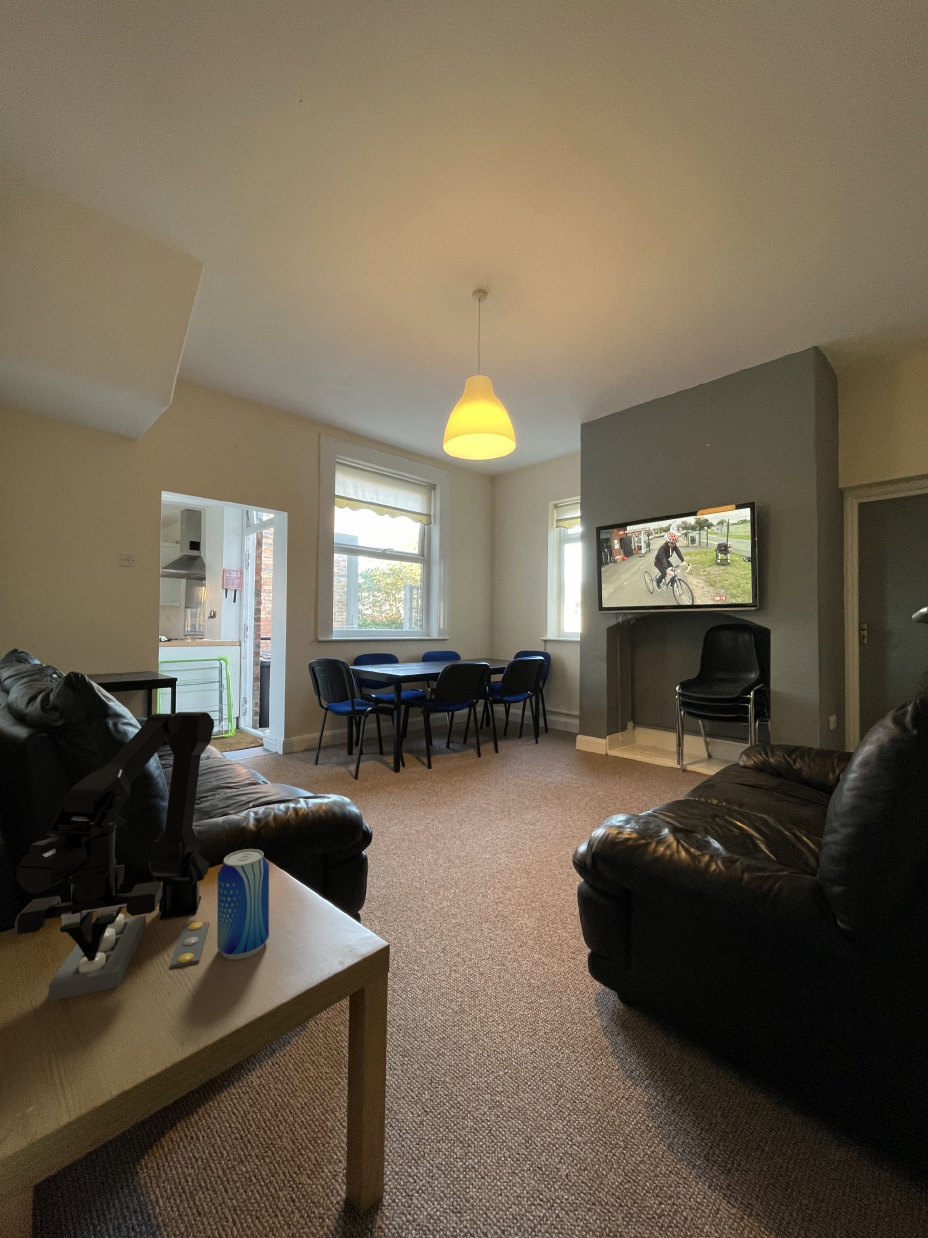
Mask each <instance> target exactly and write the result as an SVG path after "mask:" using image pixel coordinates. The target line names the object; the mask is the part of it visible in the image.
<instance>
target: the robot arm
mask: <svg viewBox="0 0 928 1238" xmlns="http://www.w3.org/2000/svg"><path fill="white" fill-rule="evenodd" d="M214 728H215V721H214V718H212V716H211V715H210V713H209V712H203V711H178V712H175V713H156V712H155V713H153V714H150V715H149V716H147V718H146V719H145V722H144V724H143V725H142V726H141V727H140V728H139V730H138V731H137V732H136V733H135V734H134V735H133V736H132V737H131V738H130V740H129V741H127V743H125V745H124V746H123V747H122V748H121V749H120V750H119V751H118V752H117V754H115V755H114V756H113V758H112V759H111V760H110V761H109V762H108V763H107V764H106V765H105V766H103V768H100V769H99V770H97V771H94V772H92V773H90V774H88V775H86V776H85V777H84V778H83V779H81V780H80V781H78V782H77V783H76V784H75V785H73V786H72V787H71V788H70V789H69V790H68V792H67V793H66V794H65V797H64V799H63V802H62V804H61V806H60V808H59V810H58V811H57V813H56V815H55V817H54V819H53V820H52V822H51V824H50V826H49V828H48V829H47V831H46V835H47V836H51V837H49V838H46V839H44V840H37V841H36V842H33V843H31V844H30V846H29V853H27V854H26V855H24V857H22V858H21V860H20V862H19V864H18V867H16V879H17V881H18V884H19V885H20V887H21V888H22V889H23V890H24V891H26V892H27V893H30V894H40V893H42V892H44V891H45V890H47V889H49V888H51V887H53V886H55V885H57V884H59V883H61V882H63V881H64V880H66V879H68V886H70V887H71V888H70V889H71V890H70V896H71V897H70V901H68V902H61V901H62V898H61V897H60V896H59V895H54V896H47V897H41V898H39V897H38V898H34V899H32V901H30V903H28V905H26V906H25V907H24V908H23V909H22V911H21V912H20V913H19V914H17V916H16V918H15V920H14V934H15V935H17V936H18V935H25V934H31V933H36V932H39V931H40V930H41V929H42V928H43V927H44V926H45V925H46V923H47V920H49V919H56V918H57V919H58V918H61V919H62V920H61V922H62V923H61V927H60V928H59V932H60V933H67V934H68V935H69V936H70V938H72V940H73V941H74V942H75V944H78V946H79V947H80V949H81V950H82V952H83V953H84V955H85V956H86V958H87V959H88V961H93V960H95V959H96V957H97V954H98V951H99V948H100V946H101V943H102V940H103V937H104V934H105V932H106V929H107V927H108V925H110V924H113V923H114V922H115V921H116V919H117V917H118V916H119V914H121V912H122V910H123V909H124V908H125V907H126V913H127V914H129V915H130V916H131V917H136V916H141V915H146V914H151V913H153V912H155V911H156V910H157V907H158V913H160V915H159V920H166V919H170V918H178V917H182V916H183V917H184V916H191V915H195V914H197V912H198V909H199V906H200V903H201V900H202V896H201V895H200V882H201V881H203V880H205V877H206V875H207V874H208V872H209V867H210V862H209V861H208V860H206V859H205V858H204V857H203V856H202V855H200V840H199V838H198V836H197V834H196V832H195V830H194V828H193V824H194V816H195V809H196V808H195V807H196V800H197V798H196V797H197V792H198V791H197V790H198V789H197V788H198V782H199V774H200V773H199V772H200V764H201V757H202V754H203V752H204V751H206V749H207V748H208V747H209V745H210V743H211V740H212V737H213V731H214ZM165 743H167V745H168V747H169V749H170V751H171V753H172V756H173V758H172V759H173V760H172V767H171V775H170V783H169V790H168V792H169V793H168V799H167V807H166V815H165V821H164V823H165V824H164V829H163V831H162V833H161V834H160V835H159V837H158V838H157V840H153V841H151V843H150V846H149V855H148V856H149V858H148V860H147V861H146V862H147V864H148V865H149V869H148V870H149V872H150V873H151V874H152V875H151V876H152V878H153V881H150V882H143V883H136V884H135V885H134V886H133V888H132V890H131V892H129V893H117V894H115V892H118V891H119V890H120V888H121V885H123V884H124V875H125V874H124V873H125V864H122V865H121V864H120V865H118V864H117V863H118V862H117V858H115V857H116V856H115V855H116V848H115V847H116V828H117V827H118V828H119V827H120V826H122V825H125V823H126V819H124V818H123V817H121V816H119V815H118V814H119V813H120V811H121V810H122V808H123V806H124V805H125V804H126V803H127V801H128V799H129V798H130V795H131V787H132V783H133V781H134V780H135V779H136V778H137V776H138V775H139V774H140V773H141V771H143V769H144V768H145V767H146V765H148V763H149V762H150V760H151V759H152V758H153V757H154V756H155V755H156V753H157V752H158V751H159V750H160V749H161V747H162V746H163V745H164V744H165ZM71 821H80V823H79V822H71ZM81 821H83V822H90V823H81ZM94 912H97V913H96V914H97V917H96V918H95V920H94V921H93V918H94Z"/></svg>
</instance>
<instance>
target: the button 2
mask: <svg viewBox="0 0 928 1238" xmlns="http://www.w3.org/2000/svg"><path fill="white" fill-rule="evenodd" d="M124 919H125V915H124V914H123V913H120V914H119V916H118V917H117V919H116V921H115V922H114V923H113V924H110V925H108V927H107V929H109V928H111V929H115V936H116V935H120V934H121V933H122V932H123V931H124Z"/></svg>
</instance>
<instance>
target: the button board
mask: <svg viewBox="0 0 928 1238" xmlns="http://www.w3.org/2000/svg"><path fill="white" fill-rule="evenodd" d="M146 925H147V915H142V916H141V915H138V916H132V917H129V918H124V931H123V932H122V933H121V934H120V935H116V936H115V947H114V949H113V950H111V951H110V952H104V953H105V955H106V964H105V967H104V969H102V970H96V971H91V972H86V973H80V974H79V962H80V960H81V959H83V958H84V957H86V956H85V955H84V953H83V952H82V950H81V949H80V947H79V946H78V944H77V943H75V946H74V947H73V949H72V950H71V952H70V953H69V954H68V956H67V957H66V959H65V961H64V962H63V964H62V965H61V966H60V968H59V969H58V971H57V972H56V974H55V976H54V977H53V978H52V979H51V982H50V983H49V986H48V994H49V995H48V1001H49V1002H50V1001H51V1002H52V1001H56V1000H61V999H62V1000H63V999H67V998H72V997H76V996H80V995H87V994H91V993H97V992H101V991H106V990H111V989H116V988H119V985H120V984H121V981H122V979H123V977H124V975H125V973H126V972H127V970H128V967H129V965H130V962H131V960H132V959H133V957H134V954H135V952H136V950H137V949H138V946H139V944H140V942H141V940H142V938H143V936H144V933H145V931H146V929H147V928H146V927H147V926H146Z"/></svg>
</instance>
